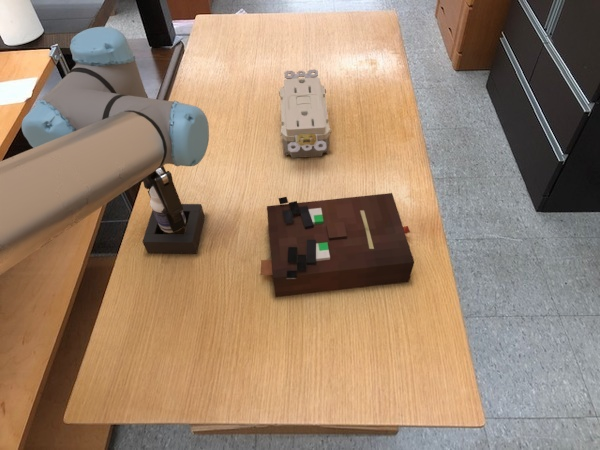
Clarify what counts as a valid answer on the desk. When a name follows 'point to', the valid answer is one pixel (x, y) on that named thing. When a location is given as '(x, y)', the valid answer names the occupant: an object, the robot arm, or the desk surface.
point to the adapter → (176, 242)
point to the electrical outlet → (304, 115)
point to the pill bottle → (157, 209)
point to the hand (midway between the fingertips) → (171, 219)
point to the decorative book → (336, 245)
